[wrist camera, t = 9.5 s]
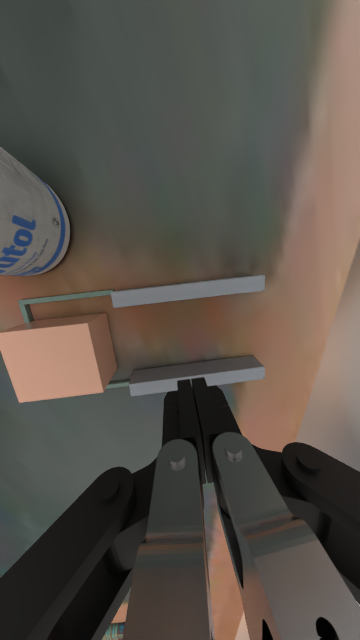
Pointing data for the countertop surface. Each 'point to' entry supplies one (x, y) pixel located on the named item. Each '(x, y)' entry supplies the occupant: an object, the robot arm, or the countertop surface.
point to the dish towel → (114, 631)
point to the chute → (210, 370)
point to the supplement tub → (29, 221)
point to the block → (59, 357)
